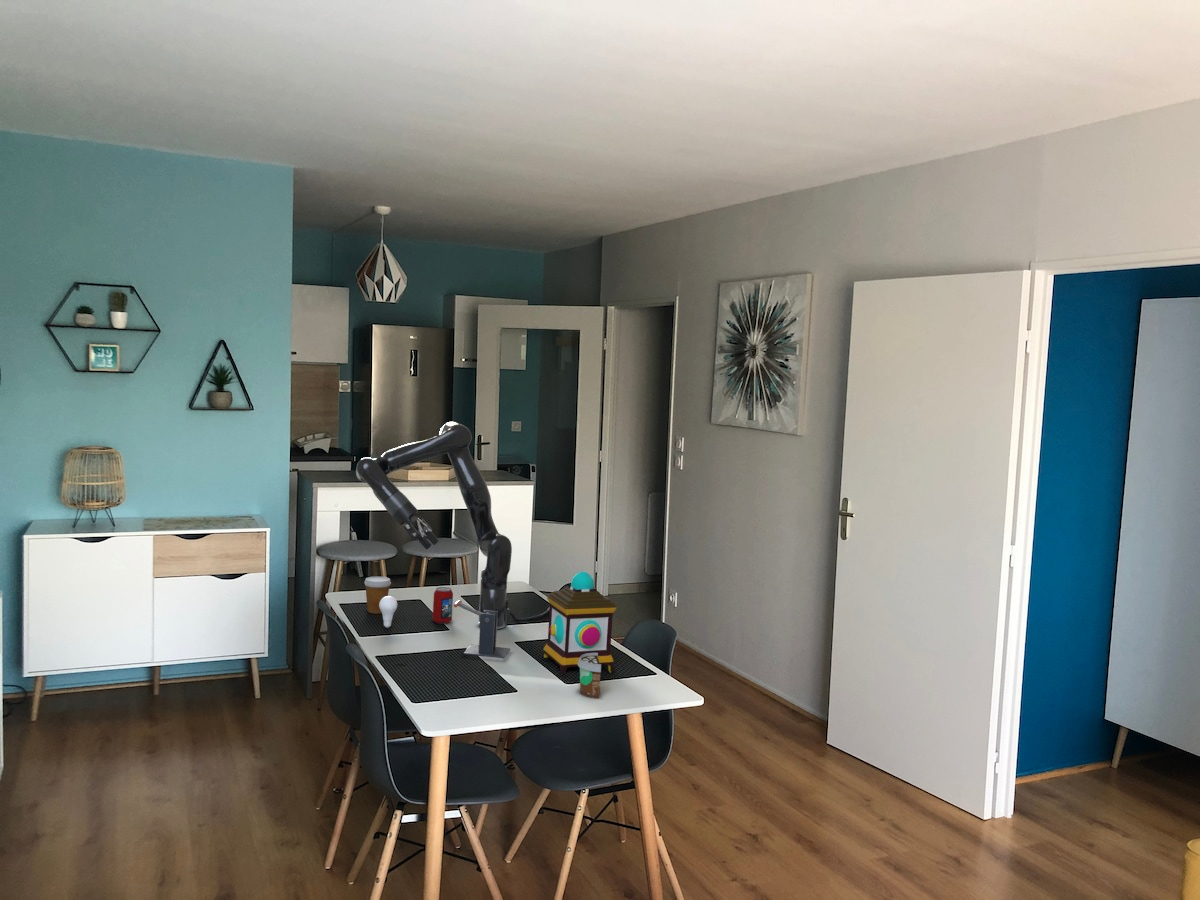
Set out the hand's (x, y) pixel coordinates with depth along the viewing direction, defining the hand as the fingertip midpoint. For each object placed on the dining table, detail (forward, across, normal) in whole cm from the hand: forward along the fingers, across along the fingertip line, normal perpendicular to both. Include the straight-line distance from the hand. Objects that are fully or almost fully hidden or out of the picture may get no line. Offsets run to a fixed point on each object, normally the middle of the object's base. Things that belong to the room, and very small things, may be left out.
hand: (433, 545), depth 307 cm
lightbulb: (+10, +12, +36) cm, 39 cm away
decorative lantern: (+59, -12, -13) cm, 61 cm away
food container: (+63, -35, -17) cm, 74 cm away
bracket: (+38, -9, +8) cm, 40 cm away
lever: (+25, -9, +2) cm, 27 cm away
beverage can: (+21, +25, +25) cm, 41 cm away
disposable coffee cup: (+3, +31, +43) cm, 53 cm away
